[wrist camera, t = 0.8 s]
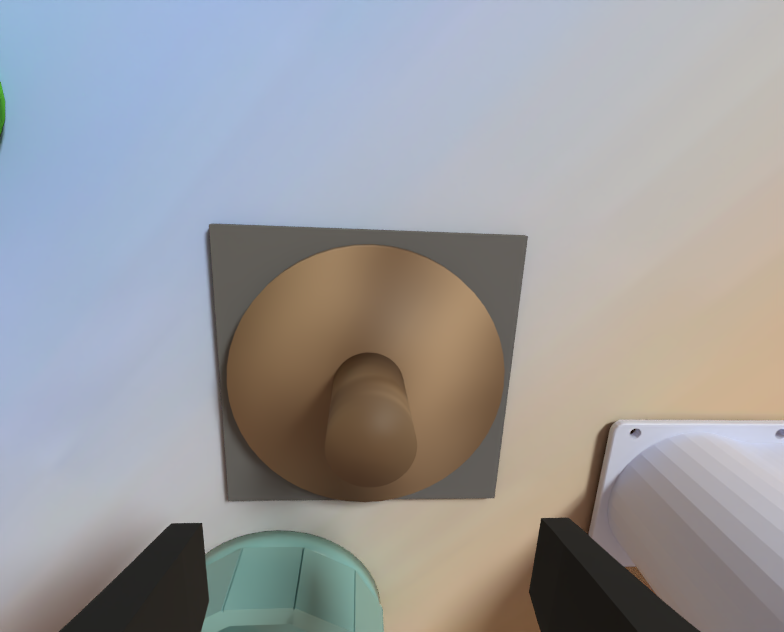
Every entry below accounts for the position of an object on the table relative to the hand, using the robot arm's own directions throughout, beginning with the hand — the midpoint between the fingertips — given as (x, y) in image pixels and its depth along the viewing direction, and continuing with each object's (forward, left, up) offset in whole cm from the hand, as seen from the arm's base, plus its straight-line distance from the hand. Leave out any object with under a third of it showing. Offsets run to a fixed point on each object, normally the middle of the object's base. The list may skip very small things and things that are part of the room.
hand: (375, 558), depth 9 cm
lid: (0, 0, -9) cm, 9 cm away
